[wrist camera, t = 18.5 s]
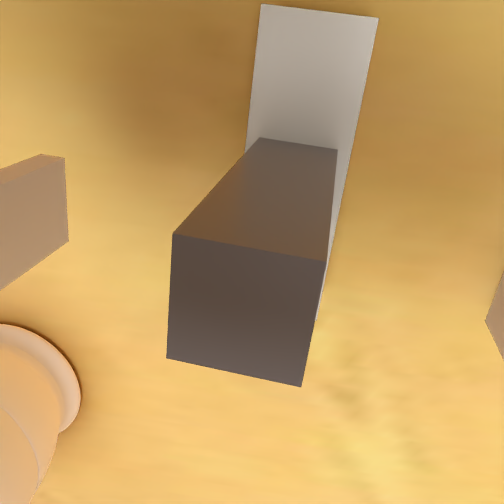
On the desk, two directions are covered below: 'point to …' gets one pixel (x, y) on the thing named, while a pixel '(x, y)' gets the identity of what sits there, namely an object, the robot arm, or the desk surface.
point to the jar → (31, 410)
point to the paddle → (273, 203)
